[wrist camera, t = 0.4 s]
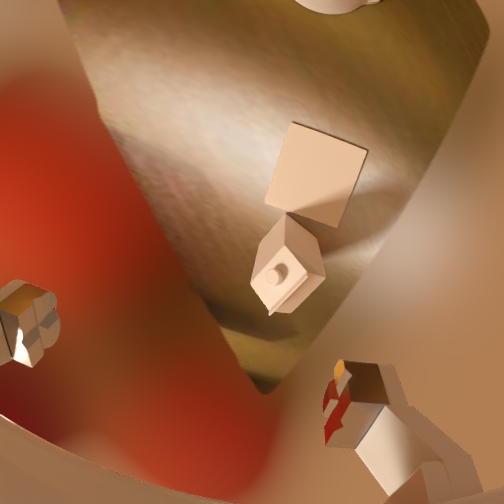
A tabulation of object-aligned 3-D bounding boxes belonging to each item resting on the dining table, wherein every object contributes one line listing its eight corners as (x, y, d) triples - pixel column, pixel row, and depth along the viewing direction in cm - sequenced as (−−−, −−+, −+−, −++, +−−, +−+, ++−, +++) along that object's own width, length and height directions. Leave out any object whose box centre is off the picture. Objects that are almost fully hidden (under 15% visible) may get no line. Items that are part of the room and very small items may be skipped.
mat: (290, 122, 48) (291, 122, 48) (366, 150, 49) (367, 151, 48) (263, 202, 54) (263, 203, 53) (336, 227, 54) (336, 228, 54)
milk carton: (317, 238, 55) (329, 293, 38) (290, 267, 58) (290, 330, 40) (285, 212, 54) (284, 257, 37) (259, 243, 57) (246, 299, 39)
